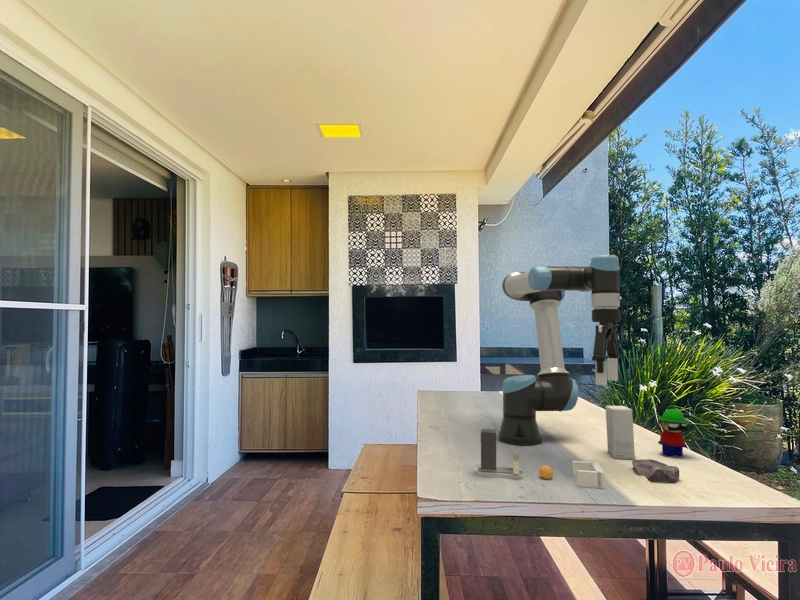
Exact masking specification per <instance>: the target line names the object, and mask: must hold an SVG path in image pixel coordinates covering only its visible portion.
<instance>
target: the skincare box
mask: <svg viewBox="0 0 800 600" xmlns="http://www.w3.org/2000/svg"><path fill="white" fill-rule="evenodd" d="M633 418H634V417H633V409H632V408H629V407H627V406H626V405H605V421H606V437H607V438H606V439H607V441H606V442H607V453H608V454H609V455H610V456H611V457H612V458H613V459H615V460H618V459H619V460H636V457H635V453H636V452H635V438H634V437H635V435H634V420H633Z"/></svg>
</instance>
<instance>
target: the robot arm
mask: <svg viewBox="0 0 800 600" xmlns="http://www.w3.org/2000/svg"><path fill="white" fill-rule="evenodd" d="M620 269H621V267H620V262H619V257H618V256H617V255H615V254H600V255H599V254H597V255H594V256H592V257H591V259H590V264H589V265H588V266H575V265H574V266H573V265H571V266H566V265H565V266H559V265H558V266H556V265H555V266H549V265H538V266H537V265H534V266H532V267H530V270H529V271H517V272H511V273H509V274H508V275H506V276H505V277H504V278H503V281H502V285H501V287H502V291H503V293H504V295H505V296H506V297H508V298H510V299H511V300H515V301H518V302H529V307H530V309H532V310H533V311H534V320H535V328H536V337H537V347H538V356H539V364H540V365H539V366H540V371H539V372H538V373H537V376H535V375H533V374H521V375H520V374H519V375H513V376H509V377H507V378H505V379H504V380H503V382H502V391H501V392H502V412H503V413H502V421H501V426H500V430H499V431H498V440H499V441H500V442H502V443H505V444H509V445H516V446H533V445H538V444H541V443H542V435H541V433H540V429H539V426H538V423H537V415H536V414H537V412H566V411H571V410H573V409H574V408H575V407H576V405H577V403H578V399H579V385H578V383H577V381H576V380H575V378H571V374H570V372H569V371H567V370H566V368H565V362H564V361H565V360H564V352H563V344H562V338H561V329H560V320H559V313H558V312H559V311H558V308H559V307H560V305H561V304H562V303H561V302H562V301H563V300H564V298H565V296H566V295H565V294H566V293H565V292H566V291H571V292H572V291H576V292H577V291H578V292H583V293H584V292H591V297H590V298H591V301H590V302H591V308H593V309H592V310H591V321H592V322H593V323H599V324H596V325H595V336H594V342H593V345H594V346H593V354H592V357H591V361H593V362H595V363H594V364H595V385H596V386H607V385H608V381H615V382H616V381H617V382H618V381H619V375H618V373H619V371H618V370H619V368H618V364H619V363H618V359H621V354H620V352H619V345H618V337H617V325H615V324H613V323H619V322H621V310H620V309H619V308H620V307H621V300H622V299H623V297H622V296H620V293H621V292H620V291H621V290H620V289H621V288H620V286H621V285H620V282H621V281H620V277H621V276H620V274H621V273H620ZM606 357H607V358H606ZM536 377H537V378H536Z"/></svg>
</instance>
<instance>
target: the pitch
mask: <svg viewBox="0 0 800 600" xmlns="http://www.w3.org/2000/svg"><path fill="white" fill-rule="evenodd" d="M476 474H477V475H476V476H477V477H487V478H498V479H499V478H501V479H509V480H510V479H511V480H513V479H514V480H524V473H523V469H520V468H519V475H518V474H505V473H492V472H481V465H480V466H478V469H477V471H476Z"/></svg>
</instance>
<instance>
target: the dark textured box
mask: <svg viewBox="0 0 800 600" xmlns="http://www.w3.org/2000/svg"><path fill="white" fill-rule="evenodd" d="M512 466H513V467H505V466H504V467H503V466H497V429H492V428H491V429H489V428H488V429H487V428H481V430H480V467H481V471H480V472H492V473H505V474H518V475H520V474H519V469H520V456H519V454H512Z"/></svg>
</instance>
